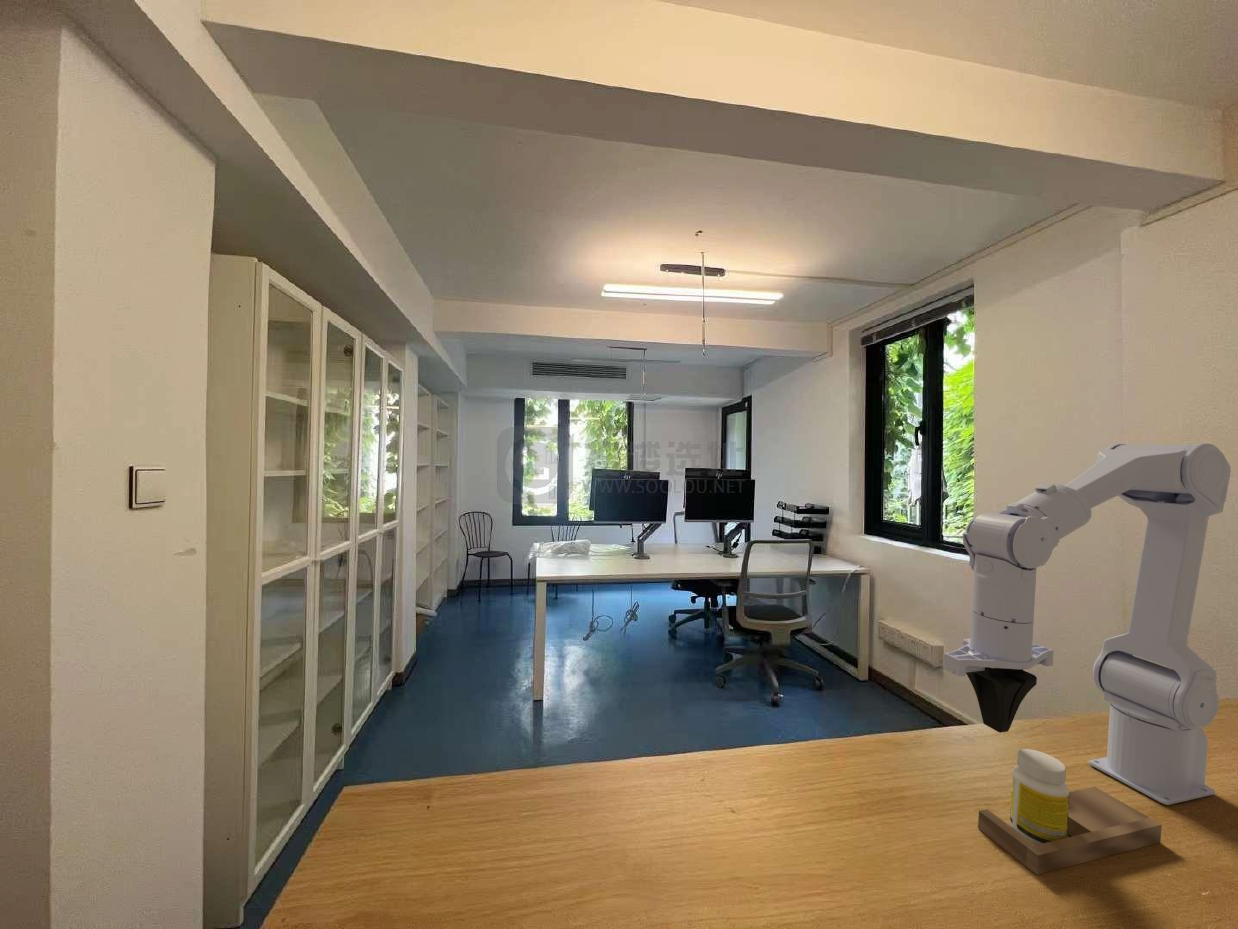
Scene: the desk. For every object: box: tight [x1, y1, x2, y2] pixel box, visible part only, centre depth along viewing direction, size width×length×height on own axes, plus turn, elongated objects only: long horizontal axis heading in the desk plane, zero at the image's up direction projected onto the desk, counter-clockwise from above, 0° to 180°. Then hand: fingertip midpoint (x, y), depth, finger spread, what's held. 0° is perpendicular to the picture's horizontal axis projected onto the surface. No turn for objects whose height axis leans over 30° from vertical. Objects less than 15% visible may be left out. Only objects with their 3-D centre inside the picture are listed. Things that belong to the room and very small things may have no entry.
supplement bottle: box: [1009, 748, 1070, 845], centre depth 53 cm, size 5×5×8 cm
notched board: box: [977, 786, 1163, 876], centre depth 53 cm, size 18×6×2 cm, turn 105°
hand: (995, 727), depth 57 cm, fingers closed
